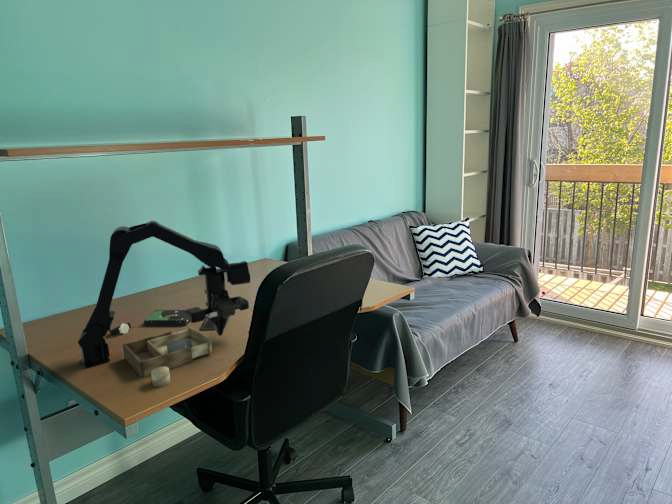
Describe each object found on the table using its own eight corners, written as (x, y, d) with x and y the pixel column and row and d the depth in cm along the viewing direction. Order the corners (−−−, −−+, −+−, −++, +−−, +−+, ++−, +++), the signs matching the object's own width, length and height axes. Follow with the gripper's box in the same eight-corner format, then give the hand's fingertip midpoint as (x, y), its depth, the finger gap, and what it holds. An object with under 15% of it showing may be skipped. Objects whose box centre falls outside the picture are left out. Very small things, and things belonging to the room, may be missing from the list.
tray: (165, 368, 137) (164, 354, 136) (147, 350, 148) (145, 338, 148) (215, 352, 146) (214, 340, 145) (194, 337, 157) (193, 325, 156)
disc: (195, 350, 146) (195, 344, 146) (172, 357, 142) (171, 351, 142) (187, 343, 152) (186, 337, 151) (164, 349, 148) (163, 343, 147)
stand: (156, 388, 127) (154, 376, 126) (150, 382, 130) (148, 370, 130) (173, 382, 130) (171, 370, 129) (166, 376, 133) (165, 364, 132)
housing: (142, 378, 133) (140, 362, 132) (124, 358, 145) (122, 344, 144) (192, 362, 141) (191, 347, 140) (171, 345, 153) (170, 331, 152)
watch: (117, 338, 161) (116, 327, 160) (106, 336, 162) (104, 326, 162) (135, 329, 168) (133, 319, 167) (124, 328, 169) (123, 318, 168)
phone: (200, 328, 164) (208, 312, 179) (200, 331, 164) (209, 315, 179) (224, 327, 164) (230, 311, 179) (224, 330, 165) (231, 314, 179)
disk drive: (196, 317, 179) (156, 316, 180) (195, 309, 178) (155, 309, 179) (186, 328, 169) (143, 327, 170) (185, 320, 168) (142, 319, 169)
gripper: (197, 300, 139) (202, 352, 142) (256, 286, 150) (259, 334, 154) (181, 291, 147) (187, 340, 151) (238, 278, 159) (242, 324, 162)
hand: (220, 335), depth 154 cm, fingers closed
